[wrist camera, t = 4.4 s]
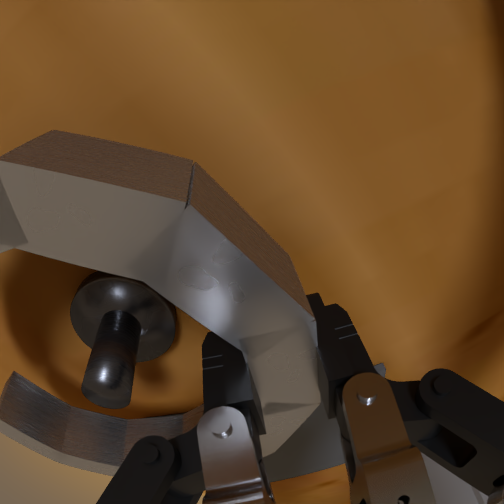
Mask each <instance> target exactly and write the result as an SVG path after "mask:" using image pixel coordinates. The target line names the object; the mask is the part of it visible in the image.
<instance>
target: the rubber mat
mask: <svg viewBox="0 0 504 504" xmlns="http://www.w3.org/2000/svg"><path fill="white" fill-rule="evenodd" d="M374 368H375V369H376V371H377V372H378V373H379V374H380V375H381V376H383V377H384V378H385V372H386V368H385V367H384V365H383V363H381V364H378V365H375V366H374ZM320 399H321V403H320V405H319V406H318V407H317V408H316V409H315V410H314V411H313V412H312V414H311V415H310V416H309V417H308V418H307V419H306V420H305V421H304V422H303V423H302V424H301V426H300V427H299V428H298V429H297V430H296V431H295V432H294V433H293V434H292V435H291V436H290V437H289V438H288V439H287V440H286V441H285V442H284V443H283V444H282V445H281V446H280V447H279V448H278V449H277V450H276V451H275V452H273V453H272V454H270V455H267V456H265V457H263V460H264V463H265V467H266V471H267V474H268V478H269V481H270V482H274V481H279V480H284V479H288V478H293V477H297V476H301V475H305V474H309V473H313V472H317V471H320V470H324V469H327V468H331V467H334V466H338V465H341V464H344V463H345V460H344V455H343V450H342V445H341V440H340V434H339V433H340V428H339V425H338V422H337V419H336V418H332V419H329V420H328V417H327V413H326V410H325V407H324V404H323V401H322V398H321V394H320ZM183 414H185V413H182V414H175V415H183ZM175 415H167V416H175ZM159 417H166V416H159ZM150 418H155V417H150Z"/></svg>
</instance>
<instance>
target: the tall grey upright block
mask: <svg viewBox="0 0 504 504" xmlns="http://www.w3.org/2000/svg"><path fill="white" fill-rule="evenodd" d="M421 454H422V457H423V460H424V463H425V466H426V469H427V472H428V476H429V479H430V483H431V486H432V489H433V493H434V497H435V500H436V504H487V500H488V496H487V495H485V494H483V493H482V492H480V491H479V490H477V489H476V488H474V487H472V486H471V485H469V484H468V483H466V482H465V481H463V480H462V479H460V478H459V477H457V476H456V475H454V474H453V473H451V472H450V471H448V470H447V469H445V468H444V467H442V466H441V465H439V464H438V463H436V462H435V461H433V460H432V459H430V458H429V457H427V456H426V455H425V454H423V453H422V452H421ZM400 504H404V502H403V501H400Z"/></svg>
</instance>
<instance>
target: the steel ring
mask: <svg viewBox="0 0 504 504" xmlns="http://www.w3.org/2000/svg"><path fill="white" fill-rule="evenodd" d="M13 248H17V249H20V250H24V251H27V252H31V253H34V254H38V255H41V256H45V257H49V258H52V259H56V260H60V261H63V262H67V263H71V264H75V265H79V266H83V267H87V268H90V269H94V270H98V271H102V272H106V273H111V274H115V275H119V276H123V277H127V278H131V279H136V280H140V281H143V282H145V283H146V284H147V285H149V286H150V287H151V288H153V289H154V290H155V291H157V292H158V293H159V294H161V295H162V296H163V297H165V298H166V299H167V300H169V301H170V302H171V303H173V304H174V305H176V306H177V307H178V308H180V309H181V310H182V311H184V312H185V313H187V314H188V315H189V316H191V317H192V318H194V319H195V320H197V321H198V322H199V323H201V324H202V325H204V326H205V327H207V328H208V329H210V330H211V331H212V332H214V333H215V334H217V335H218V336H220V337H221V338H223V339H224V340H226V341H227V342H229V343H230V344H232V345H233V346H235V347H236V348H238V349H239V350H241V351H242V353H243V356H244V359H245V362H246V363H247V362H248V365H249V368H250V371H251V374H252V377H253V380H254V383H255V386H256V389H257V392H258V395H259V398H260V401H261V406H262V412H263V417H264V423H265V428H266V434H264V435H259V437H260V443H261V449H262V456H263V457H265V456H267V455H270V454H272V453H273V452H275V451H276V450H277V449H278V448H279V447H280V446H281V445H282V444H283V443H284V442H285V441H286V440H287V439H288V438H289V437H290V436H291V435H292V434H293V433H294V432H295V431H296V430H297V429H298V428H299V427H300V426H301V424H302V423H303V422H304V421H305V420H306V419H307V418H308V417H309V416H310V415H311V414H312V412H313V411H314V410H315V409H316V408H317V407H318V406H319V405H320V403H321V399H320V391H319V386H318V369H317V353H316V346H318V342H317V327H316V320H315V317H314V315H313V312H312V310H311V307H310V304H309V302H308V299H307V297H306V294H305V292H304V290H303V287H302V285H301V282H300V280H299V277H298V275H297V272H296V270H295V267H294V265H293V262H292V260H291V258H290V256H289V254H288V253H287V252H286V251H285V250H284V249H283V248H282V247H281V246H280V245H279V244H278V243H277V242H276V241H275V240H274V239H273V238H272V237H271V236H270V235H269V234H268V233H267V232H266V231H265V230H264V229H263V228H262V227H261V226H260V225H259V224H258V223H257V222H256V221H255V220H254V219H253V218H252V217H251V216H250V215H249V214H248V213H247V212H246V211H245V210H244V209H243V208H242V207H241V206H240V205H239V204H238V203H237V202H236V201H235V200H234V199H233V198H232V197H231V196H230V195H229V194H228V193H227V192H226V191H225V190H224V189H223V188H222V187H221V186H220V185H219V184H218V183H217V182H216V181H215V180H214V179H213V178H212V177H211V176H210V175H209V174H208V173H207V172H206V171H205V170H204V169H203V168H202V167H201V166H200V165H199V164H198V163H197V162H195V163H194V164H193V160H190V159H186V158H183V157H179V156H175V155H171V154H167V153H162V152H158V151H154V150H150V149H146V148H141V147H137V146H133V145H128V144H124V143H119V142H114V141H110V140H105V139H100V138H95V137H90V136H85V135H80V134H75V133H69V132H64V131H58V130H53V131H52V130H51V131H49V132H47V133H45V134H43V135H41V136H39V137H37V138H35V139H33V140H30V141H28V142H27V143H25V144H23V145H21V146H19V147H17V148H15V149H13V150H11V151H9V152H7V153H6V154H4V155H2V156H0V253H2V252H4V251H7V250H10V249H13ZM203 412H204V404H202V405H200V406H198V407H196V408H195V409H193V410H191V411H189V412H187V413H185V414H183V415H175V416H166V417H155V418H143V419H123V418H118V417H113V416H109V415H105V414H100V413H96V412H92V411H88V410H84V409H80V408H77V407H73V406H71V405H69V404H67V403H65V402H63V401H62V400H60V399H58V398H56V397H55V396H53V395H51V394H50V393H48V392H46V391H45V390H43V389H41V388H40V387H38V386H36V385H35V384H33V383H32V382H30V381H29V380H27V379H26V378H24V377H23V376H21V375H20V374H18V373H17V372H15V371H13V373H12V374H11V376H10V377H9V379H8V380H7V382H6V383H5V386H4V388H3V391H2V394H1V396H0V432H1V433H3V434H5V435H6V436H8V437H9V438H11V439H13V440H15V441H17V442H18V443H20V444H22V445H24V446H26V447H27V448H29V449H31V450H33V451H35V452H37V453H39V454H41V455H43V456H45V457H47V458H50V459H52V460H54V461H56V462H59V463H61V464H65V465H68V466H72V467H76V468H79V469H83V470H87V471H91V472H96V473H100V474H105V475H109V476H114V475H115V473H116V472H117V470H118V469H119V467H120V466H121V464H122V463H123V461H124V459H125V458H126V456H127V455H128V453H129V452H130V450H131V449H132V447H133V446H134V444H135V443H136V442H137V441H138V440H140V439H142V438H144V437H146V436H151V435H157V436H161V437H163V438H165V439H167V440H170V439H172V438H175V437H177V436H179V435H182V434H184V433H186V432H188V431H190V430H191V429H193V428H194V427H195V426H196V425H197V424H198V422H199V420H200V418H201V417H202V415H203Z"/></svg>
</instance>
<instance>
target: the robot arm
mask: <svg viewBox="0 0 504 504" xmlns="http://www.w3.org/2000/svg"><path fill="white" fill-rule="evenodd" d="M306 297H307V299H308V302H309V304H310V307H311V310H312V312H313V315H314V317H315V320H316V327H317V342H318V346H316V353H317V369H318V386H319V391H320V394H321V398H322V401H323V404H324V407H325V410H326V413H327V417H328V420H329V419H332V418H336V419H337V422H338V425H339V428H340V433H339V434H340V440H341V445H342V450H343V455H344V460H345V464H346V469H347V475H348V480H349V486H350V500H351V504H400V501H403V502H404V504H436V500H435V497H434V493H433V489H432V486H431V483H430V479H429V476H428V472H427V469H426V466H425V463H424V460H423V457H422V454H421V452H422V453H423V454H425V455H426V456H427V457H429V458H430V459H432V460H433V461H435V462H436V463H438V464H439V465H441V466H442V467H444V468H445V469H447V470H448V471H450V472H451V473H453V474H454V475H456V476H457V477H459V478H460V479H462V480H463V481H465V482H466V483H468V484H469V485H471V486H472V487H474V488H476V489H477V490H479V491H480V492H482V493H483V494H485V495H487V496H488V500H487V504H504V402H503V401H501V400H499V399H498V398H496V397H494V396H493V395H491V394H489V393H488V392H486V391H484V390H483V389H481V388H479V387H478V386H476V385H474V384H473V383H471V382H469V381H468V380H466V379H464V378H463V377H461V376H459V375H458V374H456V373H454V372H453V371H451V370H448V369H434V370H431V371H429V372H428V373H426V374H425V375H424V376H423V378H422V379H421V381H406V382H396V381H391V380H388V379H386V378H384V377H383V376H381V375H380V374H379V373H378V372H377V371H376V369H375V368H374V366H373V364H372V362H371V360H370V357H369V355H368V353H367V351H366V349H365V347H364V345H363V343H362V341H361V339H360V337H359V335H358V334H357V331H356V329H355V327H354V325H353V323H352V321H351V319H350V317H349V315H348V313H347V311H345V310H344V309H343V308H341V307H340V306H339V305H338V304H336V303H335V304H331V305H328V306H324V304H323V301H322V299H321V297H320V295H319V293H314V294H310V295H306ZM202 358H203V360H202V367H203V398H204V412H203V415H202V417H201V418H200V420H199V422H198V424H197V425H196V426H195V427H194V428H193V429H191V430H190V431H188V432H186V433H184V434H182V435H179V436H177V437H175V438H172V439H170V440H167V439H165V438H163V437H161V436H157V435H151V436H146V437H144V438H142V439H140V440H138V441H137V442H136V443H135V444H134V446H133V447H132V449H131V450H130V452H129V453H128V455H127V456H126V458H125V459H124V461H123V463H122V464H121V466H120V467H119V469H118V470H117V472H116V473H115V475H114V477H113V478H112V480H111V481H110V483H109V484H108V486H107V487H106V489H105V491H104V492H103V494H102V495H101V497H100V499H99V500H98V502H97V503H96V504H197V502H198V500H199V498H200V497H201V495H202V493H203V491H204V490H206V494H205V496H204V498H203V501H202V504H276V502H275V499H274V495H273V492H272V488H271V485H270V481H269V478H268V474H267V471H266V467H265V463H264V460H263V456H262V449H261V443H260V437H259V435H264V434H266V428H265V423H264V417H263V412H262V406H261V401H260V398H259V395H258V392H257V389H256V386H255V383H254V380H253V377H252V374H251V371H250V368H249V365H248V362H247V363H246V362H245V359H244V356H243V353H242V351H241V350H239V349H238V348H236V347H235V346H233V345H232V344H230V343H229V342H227V341H226V340H224V339H223V338H221V337H220V336H218V335H217V334H215V333H214V332H209V333H207V335H206V337H205V340H204V342H203V344H202Z"/></svg>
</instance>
